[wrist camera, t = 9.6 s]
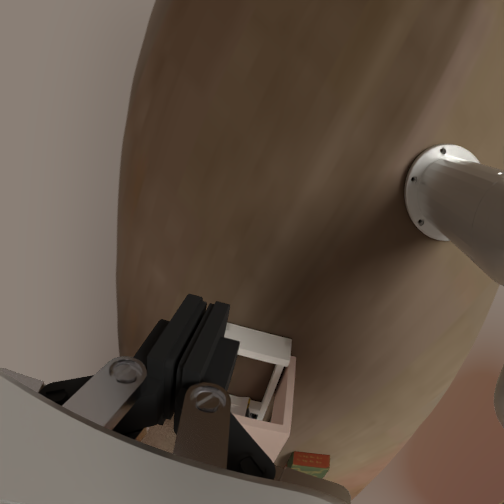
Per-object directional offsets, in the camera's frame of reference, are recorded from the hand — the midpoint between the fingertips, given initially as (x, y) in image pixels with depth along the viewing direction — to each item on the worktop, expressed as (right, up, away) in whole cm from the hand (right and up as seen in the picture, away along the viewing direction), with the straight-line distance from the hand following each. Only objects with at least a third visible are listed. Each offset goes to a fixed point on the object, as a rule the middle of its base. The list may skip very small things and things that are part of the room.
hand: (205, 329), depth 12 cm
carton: (+13, -46, +48) cm, 68 cm away
